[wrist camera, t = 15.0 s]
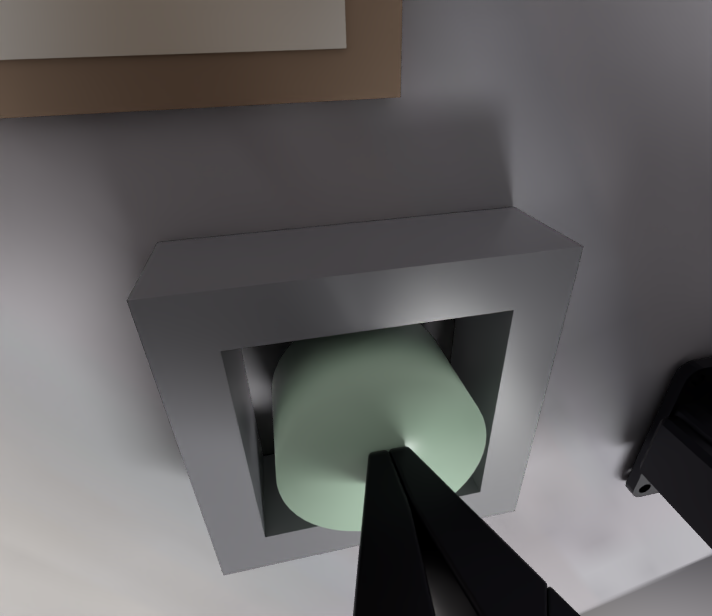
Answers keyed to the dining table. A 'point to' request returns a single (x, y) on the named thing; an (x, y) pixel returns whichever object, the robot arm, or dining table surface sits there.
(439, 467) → the button
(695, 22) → the dining table surface
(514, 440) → the button collar
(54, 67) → the board
